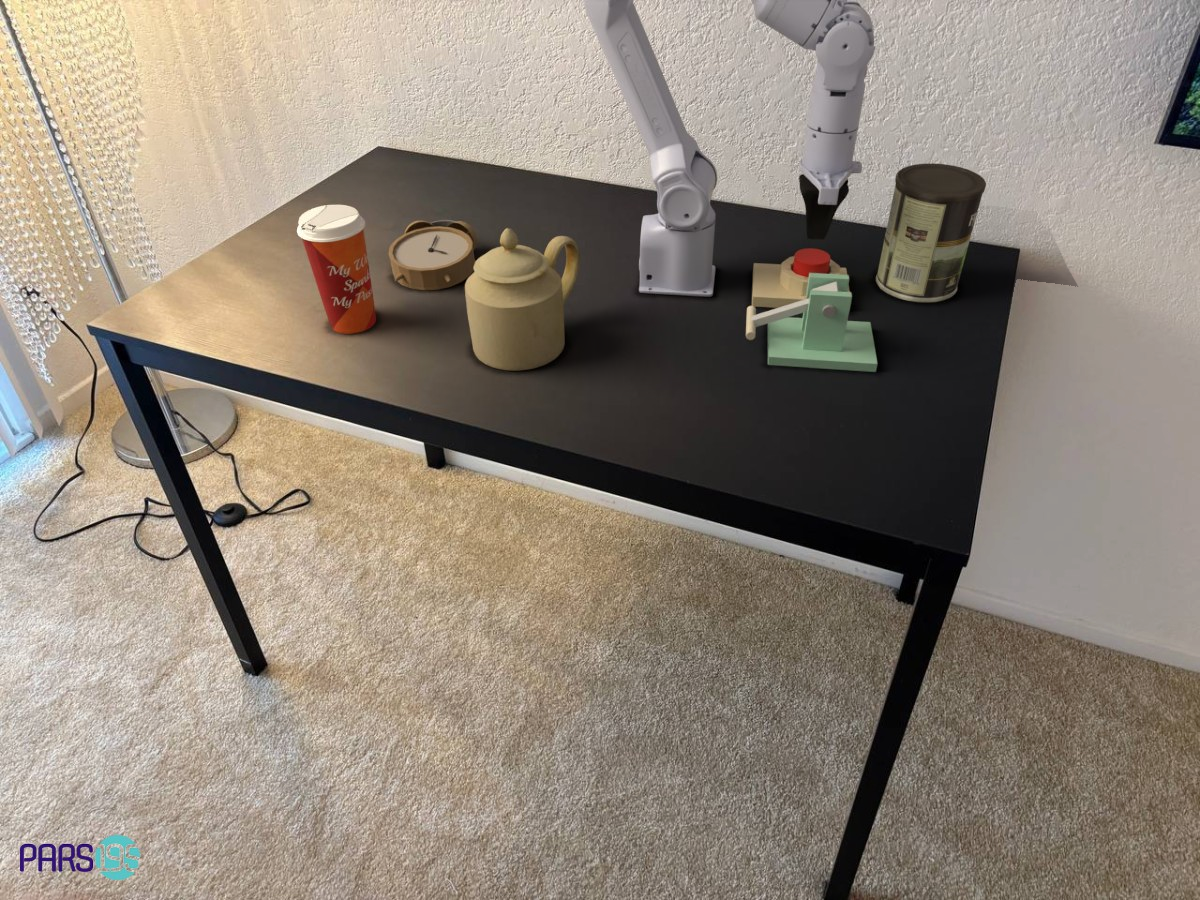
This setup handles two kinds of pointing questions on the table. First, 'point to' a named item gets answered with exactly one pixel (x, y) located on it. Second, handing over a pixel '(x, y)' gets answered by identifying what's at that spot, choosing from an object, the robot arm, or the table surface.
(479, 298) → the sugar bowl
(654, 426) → the table surface
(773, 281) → the button housing
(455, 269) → the alarm clock
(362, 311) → the paper cup
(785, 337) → the bracket
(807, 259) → the red button
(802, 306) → the lever
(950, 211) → the coffee can
